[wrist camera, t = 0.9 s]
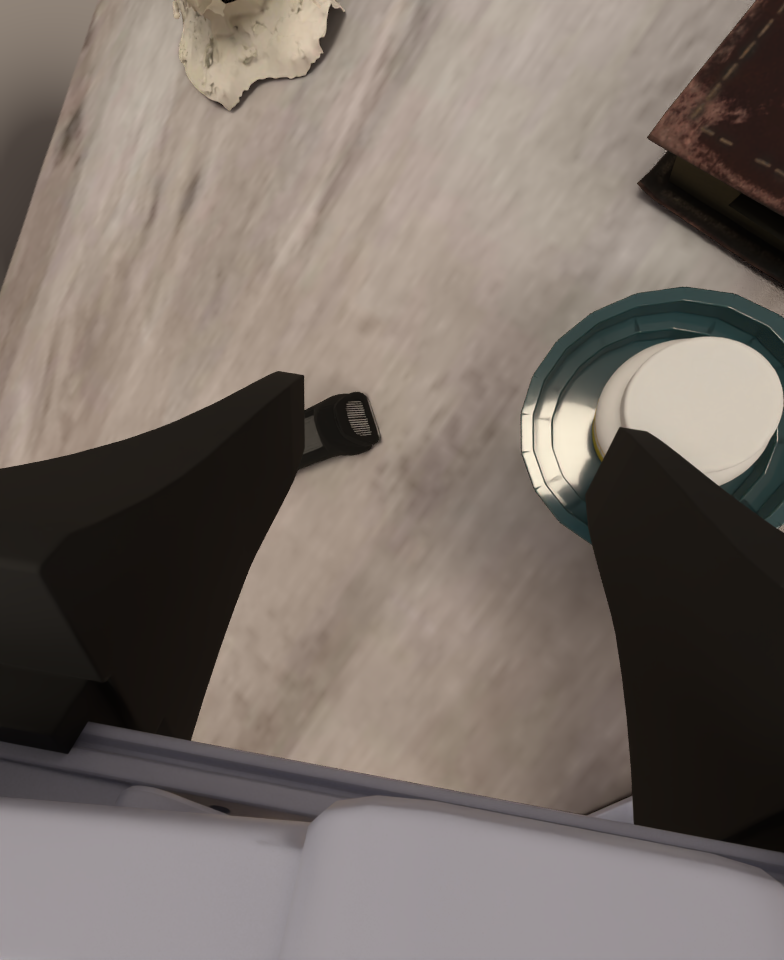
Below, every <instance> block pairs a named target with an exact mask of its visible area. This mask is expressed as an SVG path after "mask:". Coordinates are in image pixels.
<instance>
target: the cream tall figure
mask: <svg viewBox="0 0 784 960" xmlns="http://www.w3.org/2000/svg"><path fill="white" fill-rule="evenodd" d="M330 5H332V7H334V9H335V8H341V9H342V10H343V12H344V9H343V8H342V7H341V6H340V4H339V3H337V2H336V1H335V0H236V1H233V2H231V3H227V4H225V3H223V2H222V1H221V0H174V1H173V11H174V18H175V19H178V18H179V17H180V13H179V9H180V10H181V13H182V18H183V29H184V30H183V33H182V37H181V41H180V43H179V48H180V50H179V57H180V60H181V63H182V62H183V64H184V66H185V72H186V74H187V77H188V78H189V80H190V81H191V82H192V84H193V85H194V86H195V87H196V88H197V89H198V90H199V91H200V92H201V93H202V94H203V95H205V96H207V97H208V98H209V99H211V100H214V101H218V102H220V103H221V104H222V105H223V106H224V107H225V108H226V109H227V110H228V111H230V110H231V109H232V107H235V105H236V104H237V103H238V102H240V101H239V97H241V96H242V92H243V91H244V90H248V89H249V87H250V84H252V83H253V82H255V81H256V80H258V79H265V78H267V77H272V78H275V79H277V78H279V77H288V78H290V79H292V78H294V77H296V76H298V77H300V76H304V75H306V73H307V71H308V70H309V69H310V67H311V63H315V61H316V59H318V58H320V53H323V51H322V49H321V47H320V45H319V43H320V42H319V38H321V37H324V36H325V34H326V29H327V16H328V10H329V7H330Z"/></svg>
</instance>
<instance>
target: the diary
mask: <svg viewBox="0 0 784 960" xmlns="http://www.w3.org/2000/svg"><path fill="white" fill-rule="evenodd" d="M647 138H648V139H649V140H650V141H652V142H654V143H655V144H657V145H659V146H660V147H662V148H664V149H666V150H667V152H666V154H665V155H664V156H663V157H662V158H661V159H660V160H659V162H658V163H657V164H656V165H655V166H654V167H653V168H652V170H651V171H650V172H649V173H648V174H646V175H645V176H644V177H643V178H642V179H641V180H640V181H639V182H638V183H637V184H638V185H639V186H640V187H641V188H642V189H643V190H644V191H645V192H646V193H647V194H648V195H649V196H650V197H651V198H652V199H654V200H655V201H657V202H658V203H660V204H661V205H663V206H664V207H666V208H667V209H669V210H670V211H672V212H673V213H675V214H676V215H678V216H679V217H681V218H682V219H684V220H685V221H687V222H688V223H690V224H691V225H693V226H694V227H696V228H697V229H699V230H700V231H702V232H703V233H705V234H706V235H708V236H709V237H711V238H712V239H714V240H715V241H717V242H718V243H720V244H721V245H723V246H724V247H726V248H727V249H728V250H730V251H731V252H733V253H734V254H736V255H737V256H739V257H740V258H742V259H743V260H745V261H746V262H748V263H749V264H751V265H753V266H754V267H756V268H758V269H759V270H761V271H763V272H764V273H766V274H767V275H769V276H771V277H772V278H774V279H776V280H777V281H779V282H781V283H782V284H784V0H756V1H755V2H754V4H753V5H752V6H751V7H750V8H749V10H748V11H747V12H746V13H745V15H744V16H743V17H742V18H741V20H740V21H739V22H738V23H737V25H736V26H735V27H734V28H733V30H732V31H731V32H730V33H729V34H728V36H727V37H726V38H725V39H724V41H723V42H722V43H721V44H720V46H719V47H718V48H717V49H716V51H715V52H714V53H713V54H712V56H711V57H710V58H709V59H708V61H707V62H706V63H705V64H704V65H703V67H702V68H701V69H700V70H699V72H698V73H697V74H696V75H695V77H694V78H693V79H692V80H691V82H690V83H689V84H688V85H687V87H686V88H685V89H684V90H683V92H682V93H681V94H680V95H679V96H678V98H677V99H676V100H675V101H674V103H673V104H672V105H671V106H670V108H669V109H668V110H667V111H666V113H665V114H664V115H663V117H662V118H661V119H660V121H659V122H658V123H657V125H656V126H655V127H654V129H653V130H652V131H651V133H650V134H649V136H648V137H647Z"/></svg>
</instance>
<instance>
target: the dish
mask: <svg viewBox="0 0 784 960" xmlns="http://www.w3.org/2000/svg"><path fill="white" fill-rule="evenodd" d="M696 337H722V338H727V339H731V340H735V341H738V342H741V343H743V344H745V345H747V346H749V347H751V348H753V349H754V350H756V351H757V352H759V353H760V354H761V355H762V356H763V357H765V358H766V359H767V360H768V362H769V363H770V364H771V365H772V367H773V368H774V369H775V371H776V373H777V375H778V377H779V380H780V383H781V386H782V390H783V399H784V318H783V317H782V316H780V315H779V314H776V313H774V312H772V311H770V310H768V309H766V308H764V307H762V306H760V305H758V304H756V303H753V302H751V301H749V300H747V299H745V298H743V297H741V296H739V295H736V294H735V295H734V294H733V293H726V292H719V291H712V290H705V289H698V288H691V287H678V288H671V289H664V290H656V291H649V292H642V293H636V294H633V295H631V296H629V297H626V298H624V299H622V300H619V301H617V302H615V303H613V304H610V305H608V306H606V307H603V308H601V309H599V310H596V311H594V312H593V313H591V314H589V315H588V316H587V317H586V318H584V319H583V320H582V321H581V322H579V323H578V324H577V325H576V326H574V327H573V328H572V329H571V330H569V331H568V332H567V333H566V334H565V335H563V336H562V337H561V338H560V339H558V342H556V343H555V344H554V345H553V347H552V348H551V350H550V351H549V353H548V354H547V356H546V357H545V358H544V360H543V361H542V363H541V364H540V366H539V367H538V369H537V370H536V371H535V373H534V375H533V376H532V379H531V382H530V385H529V389H528V392H527V395H526V398H525V401H524V404H523V408H522V411H521V452H522V457H523V460H524V462H525V465H526V468H527V471H528V474H529V477H530V479H531V482H532V485H533V488H534V489H535V492H536V493H537V494H538V495H539V497H540V498H541V499H542V501H543V502H544V503H545V504H546V506H547V507H548V508H549V510H550V511H551V512H552V514H553V515H554V516H555V517H556V519H557V520H558V521H560V523H561V524H563V525H564V526H565V527H567V528H568V529H570V530H571V531H573V532H574V533H575V534H577V535H578V536H580V537H581V538H583V539H584V540H586V541H587V542H588V543H590V544H591V545H592V542H591V538H590V534H589V529H588V521H587V511H586V499H585V494H586V492H587V490H588V488H589V486H590V484H591V482H592V480H593V478H594V476H595V474H596V472H597V470H598V468H599V466H600V464H601V461H600V460H599V458H598V456H597V454H596V452H595V449H594V445H593V439H592V425H593V420H594V416H595V412H596V408H597V404H598V400H599V398H600V395H601V393H602V391H603V388H604V387H605V385H606V383H607V382H608V380H609V379H610V378H611V376H612V375H613V374H614V372H615V371H616V370H617V369H618V368H619V367H620V366H621V365H622V364H623V363H625V362H626V361H627V360H628V359H630V358H631V357H633V356H634V355H636V354H637V353H639V352H641V351H642V350H644V349H647V348H649V347H651V346H654V345H656V344H659V343H663V342H667V341H671V340H677V339H691V338H696ZM720 487H721V488H722V489H724V490H725V491H726V492H727V493H729V494H730V495H731V496H733V497H734V498H735V499H737V500H738V501H739V502H741V503H742V504H743V505H745V506H746V507H747V508H749V509H750V510H752V511H753V512H754V513H756V514H757V515H759V516H760V517H761V518H763V519H764V520H766V521H767V522H768V523H770V524H771V525H773V526H774V527H776V528H777V529H778V528H780V527H781V526H782V525H784V402H783V411H782V415H781V419H780V422H779V424H778V427H777V429H776V430H775V432H774V434H773V435H772V437H771V438H770V440H769V443H768V445H767V446H766V448H765V450H764V451H763V453H762V454H761V455H760V457H759V458H758V459H757V460H756V461H755V462H754V463H753V464H752V465H751V466H750V467H749V468H748V469H747V470H746V471H745V472H743V473H742V474H741V475H739V476H737V477H736V478H734V479H733V480H731V481H729V482H727V483H725V484H723V485H720Z"/></svg>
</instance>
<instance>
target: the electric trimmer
mask: <svg viewBox="0 0 784 960" xmlns="http://www.w3.org/2000/svg"><path fill="white" fill-rule="evenodd" d="M374 417H375V416H374V415H373V413H372V408H371V406H370V401H368V400H367V397H366V396H365V395H364V394H363V393H360V392H353V393H350V394H338V395H335V396H332V397H329V398H328V399H326V400H324V401H322V402H320V403H318V404H316V405H314V406H312V407H310V408H308V409H306V410H304V419H305V449H304V452H303V455H302V458H301V461H300V464H299V467H298V470H299V469H301V468H304V467H306V466H309V465H311V464H314V463H317V462H320V461H323V460H326V459H329V458H331V457H335V456H340V455H357V454H360V453H363V452H365V451H368V450H369V449H371V447H372V445H373V444H375V443H377V442H378V441H379V436H380V434H379V430H378V429H377V423H376V421H375V419H374Z"/></svg>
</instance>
